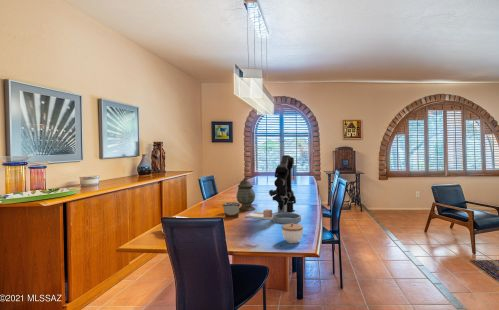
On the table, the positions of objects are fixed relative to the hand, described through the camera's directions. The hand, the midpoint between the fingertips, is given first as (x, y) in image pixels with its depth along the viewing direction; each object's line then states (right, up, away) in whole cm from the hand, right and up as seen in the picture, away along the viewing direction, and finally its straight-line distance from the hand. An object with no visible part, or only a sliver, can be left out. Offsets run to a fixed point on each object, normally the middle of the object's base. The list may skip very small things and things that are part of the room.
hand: (282, 209), depth 200 cm
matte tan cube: (-9, -7, +8) cm, 14 cm away
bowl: (+3, -7, -1) cm, 8 cm away
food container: (-34, -8, +11) cm, 36 cm away
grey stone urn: (-24, -7, +33) cm, 42 cm away
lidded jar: (0, -9, -44) cm, 45 cm away
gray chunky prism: (0, -2, 0) cm, 2 cm away
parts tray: (-13, -7, +11) cm, 18 cm away
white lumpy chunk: (-58, -9, -24) cm, 64 cm away
